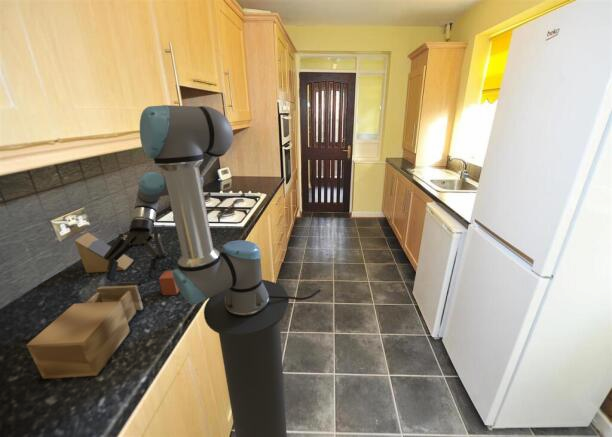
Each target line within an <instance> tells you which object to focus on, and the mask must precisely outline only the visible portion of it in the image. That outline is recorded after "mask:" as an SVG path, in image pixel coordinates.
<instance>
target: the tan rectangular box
mask: <svg viewBox="0 0 612 437" xmlns="http://www.w3.org/2000/svg"><path fill="white" fill-rule="evenodd" d="M130 332H131V329H130V326H129V322H127V319H126V316H125V313H124V310H123V306H122V303H121V301H119V302H98V303H86V302H78V303H73V304H72V305H71V306H70V307H68V308H67V309H66V310H65V311H64V312H63V313H61V314H60V315H59V316H58V317H57V318H56V319H54V321H52V322H51V323H50V324H48V326H47V327H45V328H44V329H43V330H42V331H41V332H40V333H38V334H37V335H36V336H35V337H33V339H31V340H30V341H29V342H28V343H27V344H26V348H27V350H28V352H29V354H30V356H31V358H32V359H33V362H34V363H35V364H34V365H35V366H36V368H37V370H38V372H39V374H40V376H41V377H42V379H43V380H46V379H48V380H49V379H62V378H63V379H64V378H81V377H96V376H98V375H99V374H100V372H101V371H102V370H103V368H104V367H105V366H106V365H107V363H108V362H109V360H110V359H111V358H112V356H113V355H114V353H116V351H117V350H118V348H119V347H120V346H121V344H122V343H123V341H124V340H125V339H126V337H127V336H128V335H129V334H130Z"/></svg>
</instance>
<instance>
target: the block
mask: <svg viewBox="0 0 612 437" xmlns="http://www.w3.org/2000/svg"><path fill="white" fill-rule="evenodd" d="M173 271H174V270H164V271H163V273H162V274H161V275H160V276H159V278H158V281H159V285H160V290H161V293H162V294H161V295H162V296H173V295H174V296H175V295H178V294H179V292H180V291H179V289H178V287H177V285H176V283H175V280H174V278H173Z"/></svg>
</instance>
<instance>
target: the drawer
mask: <svg viewBox="0 0 612 437" xmlns="http://www.w3.org/2000/svg"><path fill="white" fill-rule="evenodd" d="M141 285H142V283H141V281H125V282H124V281H123V282H121V281H119V282H118V283H117V284H116V285H109V286H108V285H107V286H98V287H97V288H96V291H97V292H95V293H94V294H93V295H92V296H91V297H90V298H89V299H88V300H87V301H85V303H98V302H119V301H121V303H122V306H123V310H124V313H125V316H126V319H127V322H128V323H129V322H130V321H131V320H132V319H133V317H134V316H135V315H136V314H137V311H142V310H143V309H144V305H143V302H142V298H141V295H140V290H139V288H138V287H140V286H141Z"/></svg>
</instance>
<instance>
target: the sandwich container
mask: <svg viewBox="0 0 612 437" xmlns="http://www.w3.org/2000/svg"><path fill="white" fill-rule="evenodd" d="M74 244H75V246H76V249H77V252H78V254H79V257H80V259H81V262H82V265H83V268H84V271H85V273H86V274H91V273H104V272H109V270H107V267H108V263H109V260H107V259H105V258H104V256H105V255H106V253H107V252H108V251H109V249H110V248H111V247H112V245H110V244H107V243H106V242H104V241H103V240H101V239H100V238H98V237H96V236H94V235H93V234H91V233H90V232H89V231H87V232H85V233H84V234H82V235H81V236H79V237H78V238H76V239H74ZM117 262H118V266H117V270H116V271H125V270H126V269H128V268H129V267H130V266H131V264H132V263H133V262H134V259H133V258H132V257H129V256H128V255H126V254H125V253H124V254H123V255H122V256H121V257H120V258H119V259H118V260H117Z"/></svg>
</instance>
